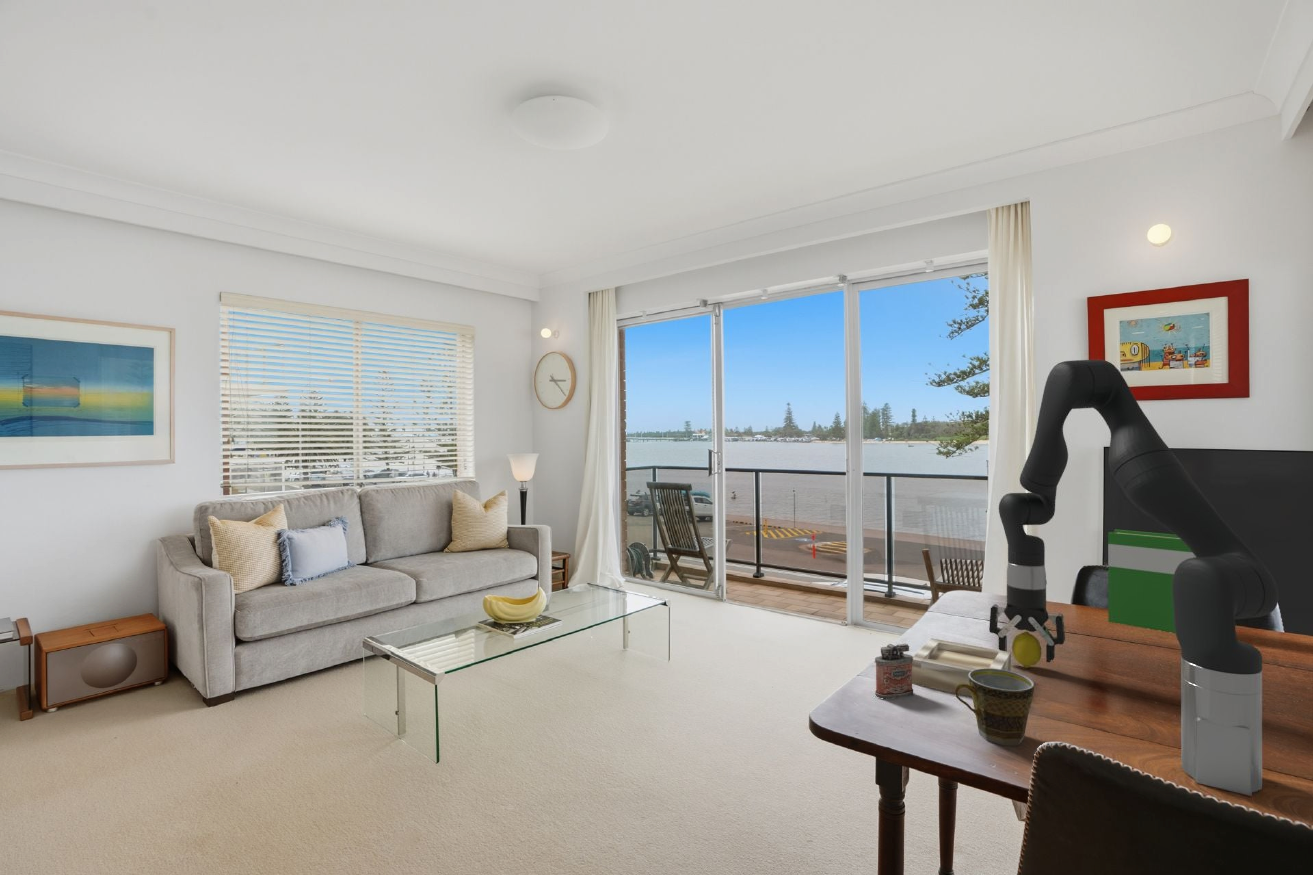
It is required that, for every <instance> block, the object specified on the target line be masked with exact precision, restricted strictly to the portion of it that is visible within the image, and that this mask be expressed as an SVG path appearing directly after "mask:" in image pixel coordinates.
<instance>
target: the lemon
mask: <svg viewBox="0 0 1313 875" xmlns="http://www.w3.org/2000/svg"><path fill="white" fill-rule="evenodd" d="M1014 637H1015V638H1013V642H1012V647H1011V649H1012V650H1011V651H1012V655H1013V657H1014V659H1015V661H1016V662H1018V663H1019V664H1021V665H1022V666H1023V667H1024V668H1026V669H1028V668H1030V667H1032V666H1036V664H1037V663H1039V662H1040V661H1041V658H1042V648H1041V643H1040V641H1039V639H1038V638H1037V637H1036V636H1035V635H1034V634H1031V633H1030V631H1024V632H1021V633H1019V634H1017V635H1016V636H1014ZM1037 665H1038V664H1037Z"/></svg>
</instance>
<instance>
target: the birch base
mask: <svg viewBox="0 0 1313 875" xmlns="http://www.w3.org/2000/svg"><path fill="white" fill-rule="evenodd" d="M912 656H913V655H912ZM986 668H989V669H1001V670H1007V671H1011V672H1012V652H1011V651H1008V650H1007V651H1001V650H999V649H995V648H989V647H982V646H977V645H971V644H966V643H959V642H955V641H949V640H943V639H938V638H932V637H931V639H929V640H928V641H927V642H926V643H925V644H924V645H923V646H922V647H921V648H920V649H919V650H918V651H917V652H916V653H915V654H914V656H913V662H912V685H918V686H923V687H927V688H930V689H931V688H932V689H935V688H936V689H935V690H940V691H944V692H945V691H946V692H950V693H954V694H955V688H956V686H957V685H958V684H960V683H966V684H968V685H970V684H969V677H968V674H969V673H970V672H971V671H973V670H976V669H986ZM957 694H958V695H963V696H967V697H971V698H972V694H971V692H970V690H969V689H968V688H960V689H959V690H958V693H957Z"/></svg>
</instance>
